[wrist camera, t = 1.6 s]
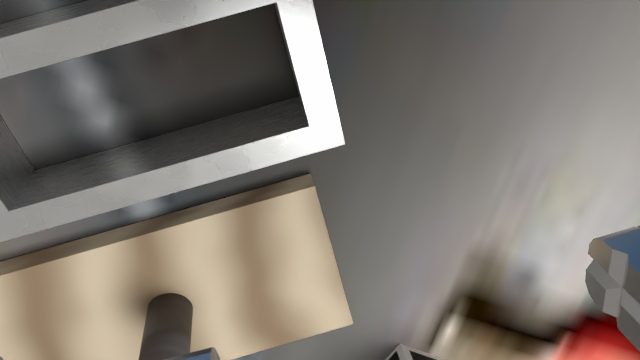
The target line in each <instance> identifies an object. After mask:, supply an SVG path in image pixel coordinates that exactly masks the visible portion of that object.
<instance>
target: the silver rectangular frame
mask: <svg viewBox="0 0 640 360" xmlns="http://www.w3.org/2000/svg"><path fill="white" fill-rule="evenodd" d="M272 3H274V5H275V9H276V13H277V17H278V20H279V24H280V28H281V31H282V35H283V39H284V43H285V46H286V50H287V54H288V58H289V61H290V65H291V69H292V72H293V76H294V80H295V84H296V87H297V91H298V95H299V96H298V97H294V98H291V99H287V100H283V101H280V102H276V103H273V104H269V105H266V106H262V107H259V108H255V109H251V110H248V111H244V112H241V113H237V114H234V115H230V116H227V117H223V118H219V119H216V120H212V121H209V122H205V123H202V124H198V125H194V126H191V127H187V128H184V129H180V130H177V131H173V132H170V133H166V134H162V135H159V136H155V137H152V138H148V139H145V140H141V141H138V142H134V143H130V144H127V145H123V146H120V147H116V148H113V149H109V150H106V151H102V152H98V153H95V154H91V155H88V156H84V157H81V158H77V159H73V160H70V161H66V162H63V163H59V164H56V165H52V166H49V167H45V168H41V169H38V170H34V168H33V167H32V165H31V164H30V162H29V161H28V159H27V157H26V156H25V154H24V153H23V151H22V149H21V148H20V146H19V145H18V143H17V141H16V140H15V138H14V137H13V135H12V133H11V132H10V130H9V129H8V127H7V126H6V124H5V122H4V121H3V119H2V118H1V116H0V242H2V241H6V240H9V239H13V238H16V237H20V236H24V235H27V234H31V233H34V232H38V231H41V230H45V229H48V228H52V227H55V226H59V225H62V224H66V223H69V222H73V221H76V220H80V219H83V218H87V217H90V216H94V215H97V214H101V213H105V212H108V211H112V210H115V209H119V208H122V207H126V206H129V205H133V204H136V203H140V202H143V201H147V200H150V199H154V198H157V197H161V196H164V195H168V194H171V193H175V192H179V191H182V190H186V189H189V188H193V187H196V186H200V185H203V184H207V183H210V182H214V181H217V180H221V179H224V178H228V177H231V176H235V175H238V174H242V173H245V172H249V171H253V170H256V169H260V168H263V167H267V166H270V165H274V164H277V163H281V162H284V161H288V160H291V159H295V158H298V157H302V156H305V155H309V154H312V153H316V152H319V151H323V150H326V149H330V148H334V147H337V146H341V145H344V144H345V142H344V137H343V133H342V128H341V124H340V120H339V115H338V111H337V106H336V102H335V98H334V93H333V89H332V84H331V80H330V76H329V71H328V67H327V62H326V58H325V54H324V49H323V45H322V40H321V36H320V32H319V27H318V23H317V18H316V14H315V10H314V5H313V1H312V0H87V1H83V2H79V3H76V4H72V5H68V6H65V7H61V8H57V9H54V10H50V11H46V12H43V13H39V14H36V15H32V16H28V17H25V18H21V19H17V20H14V21H10V22H6V23H3V24H0V79H1V78H4V77H8V76H11V75H15V74H19V73H22V72H26V71H29V70H33V69H37V68H40V67H44V66H48V65H51V64H55V63H58V62H62V61H66V60H69V59H73V58H77V57H80V56H84V55H87V54H91V53H95V52H98V51H102V50H105V49H109V48H113V47H116V46H120V45H124V44H127V43H131V42H134V41H138V40H142V39H145V38H149V37H153V36H156V35H160V34H163V33H167V32H171V31H174V30H178V29H181V28H185V27H189V26H192V25H196V24H200V23H203V22H207V21H210V20H214V19H218V18H221V17H225V16H229V15H232V14H236V13H239V12H243V11H247V10H250V9H254V8H257V7H261V6H265V5H268V4H272Z"/></svg>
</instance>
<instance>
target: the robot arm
mask: <svg viewBox="0 0 640 360" xmlns="http://www.w3.org/2000/svg"><path fill="white" fill-rule="evenodd" d="M588 254H589V255H590V256H591V257H592V258H593V259H594V260H593V261H592V263H591V264H590V265H589V266H588V268H587V269H586V279H585V282H586V285H587V288H588V291H589V294H590V296H591V297H592V299H593V301H594V302H595V304H596V305H597V306H598V307H599V308H600V309H601V310H602V311H603V312H605V313H607V314H610V315H612V316H615V317H617V328H618V329H619V330H620V331H621V332H622V333H623V334H624V335H625V336H626V337H627V338H628V339H629V341H630V342H631V343H632V344H633V345H634V346H635V347H636V348H637V349H638V350H639V351H640V226H637V227H632V228H629V229H626V230H622V231H619V232H615V233H612V234H609V235H605V236H602V237H599V238H595V239H593V240H592V242H591V243H590V244H589V251H588ZM164 360H220V357H219V355H218V353H217V351H216V349H215V348H214V347H211V348H207V349H203V350H199V351H195V352H191V353H187V354H184V355H180V356H176V357H172V358H168V359H164Z"/></svg>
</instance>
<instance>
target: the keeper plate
mask: <svg viewBox="0 0 640 360" xmlns="http://www.w3.org/2000/svg"><path fill="white" fill-rule="evenodd" d="M351 324H353V321H352V318H351V314H350V310H349V307H348V303H347V300H346V296H345V292H344V289H343V285H342V282H341V278H340V274H339V271H338V267H337V264H336V260H335V257H334V253H333V249H332V246H331V242H330V239H329V235H328V231H327V228H326V224H325V221H324V217H323V214H322V210H321V206H320V203H319V199H318V196H317V192H316V188H315V185H314V182H313V178H312V175H311V173H310V174H307V175H303V176H300V177H296V178H293V179H289V180H286V181H282V182H279V183H275V184H271V185H268V186H264V187H261V188H257V189H254V190H250V191H247V192H243V193H240V194H236V195H233V196H229V197H226V198H222V199H219V200H215V201H212V202H208V203H205V204H201V205H198V206H194V207H191V208H187V209H184V210H180V211H177V212H173V213H170V214H166V215H163V216H159V217H156V218H152V219H149V220H145V221H142V222H138V223H135V224H131V225H127V226H124V227H120V228H117V229H113V230H110V231H106V232H103V233H99V234H96V235H92V236H89V237H85V238H82V239H78V240H75V241H71V242H68V243H64V244H61V245H57V246H54V247H50V248H47V249H43V250H40V251H36V252H33V253H29V254H26V255H22V256H19V257H15V258H12V259H8V260H5V261H1V262H0V356H1V357H2V358H3V359H4V360H164V359H168V358H172V357H176V356H180V355H184V354H187V353H191V352H195V351H199V350H203V349H207V348H211V347H214V348H215V349H216V351H217V353H218V355H219V357H220V360H231V359H235V358H238V357H242V356H245V355H248V354H252V353H255V352H259V351H262V350H265V349H269V348H272V347H276V346H279V345H283V344H286V343H289V342H293V341H296V340H300V339H303V338H307V337H310V336H313V335H317V334H320V333H324V332H327V331H330V330H334V329H337V328H341V327H344V326H348V325H351Z"/></svg>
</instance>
